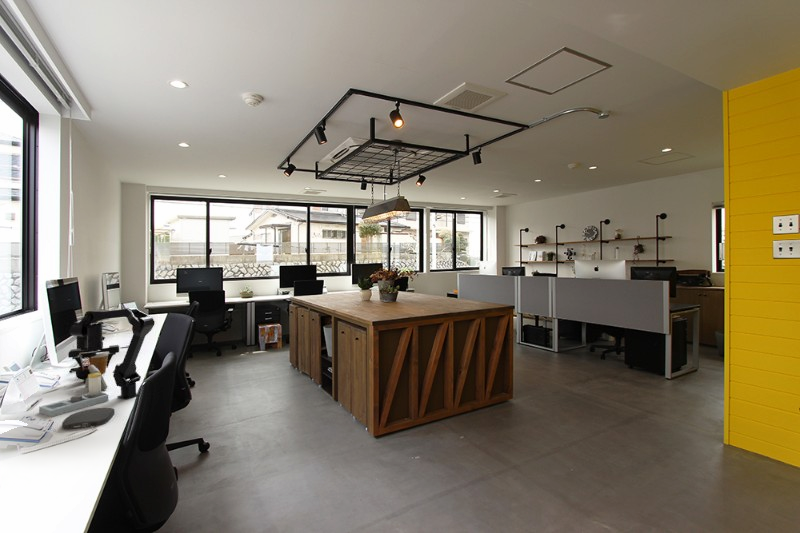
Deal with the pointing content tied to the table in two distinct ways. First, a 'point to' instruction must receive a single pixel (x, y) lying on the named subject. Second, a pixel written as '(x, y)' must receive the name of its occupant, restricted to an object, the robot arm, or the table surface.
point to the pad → (94, 396)
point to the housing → (70, 405)
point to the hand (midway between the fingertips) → (95, 369)
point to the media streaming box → (88, 418)
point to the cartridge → (94, 384)
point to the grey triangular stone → (95, 370)
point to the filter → (80, 345)
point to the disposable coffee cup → (100, 361)
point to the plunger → (76, 398)
